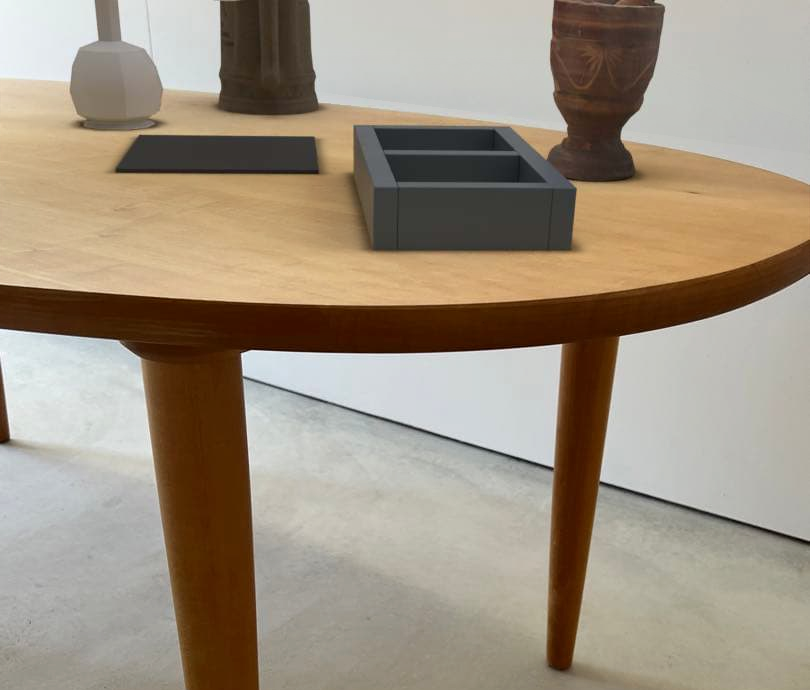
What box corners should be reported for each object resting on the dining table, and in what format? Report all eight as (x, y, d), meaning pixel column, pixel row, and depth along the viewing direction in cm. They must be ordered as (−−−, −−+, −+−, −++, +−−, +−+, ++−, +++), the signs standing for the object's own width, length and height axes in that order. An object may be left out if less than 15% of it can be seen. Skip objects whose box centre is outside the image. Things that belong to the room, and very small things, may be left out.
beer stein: (209, 101, 124) (199, -106, 113) (303, 99, 127) (302, -103, 116) (235, 134, 112) (226, -95, 101) (338, 131, 115) (341, -91, 104)
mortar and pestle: (617, 158, 99) (647, -99, 89) (691, 175, 93) (731, -99, 83) (518, 170, 93) (538, -105, 83) (590, 189, 87) (620, -105, 77)
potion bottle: (174, 120, 112) (159, -85, 103) (148, 135, 104) (129, -86, 95) (89, 117, 112) (67, -87, 104) (57, 131, 105) (30, -88, 96)
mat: (116, 175, 88) (115, 168, 87) (139, 140, 101) (139, 134, 101) (318, 176, 89) (318, 169, 89) (314, 141, 103) (314, 136, 103)
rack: (373, 253, 69) (373, 186, 67) (353, 177, 89) (353, 124, 87) (570, 253, 70) (577, 187, 68) (506, 178, 90) (510, 126, 88)
